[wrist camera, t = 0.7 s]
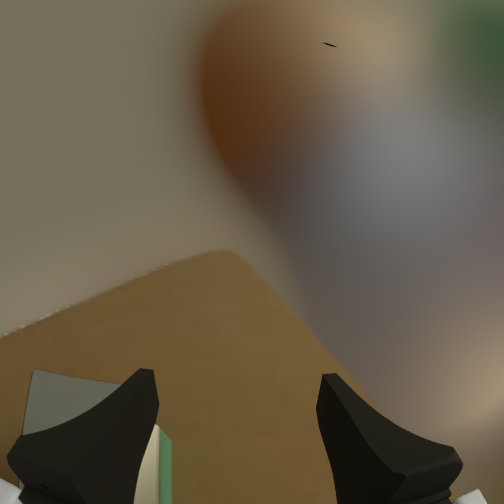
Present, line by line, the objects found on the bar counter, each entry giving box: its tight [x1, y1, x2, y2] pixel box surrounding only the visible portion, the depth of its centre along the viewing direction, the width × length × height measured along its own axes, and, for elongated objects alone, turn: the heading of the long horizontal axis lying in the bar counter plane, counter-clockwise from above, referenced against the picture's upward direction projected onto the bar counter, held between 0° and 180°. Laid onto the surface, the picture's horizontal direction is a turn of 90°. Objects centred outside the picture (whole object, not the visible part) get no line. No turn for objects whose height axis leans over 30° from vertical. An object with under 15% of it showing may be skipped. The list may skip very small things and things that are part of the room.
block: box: [134, 425, 172, 504], centre depth 18 cm, size 6×4×9 cm, turn 3°
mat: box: [19, 369, 121, 491], centre depth 19 cm, size 18×11×1 cm, turn 3°
